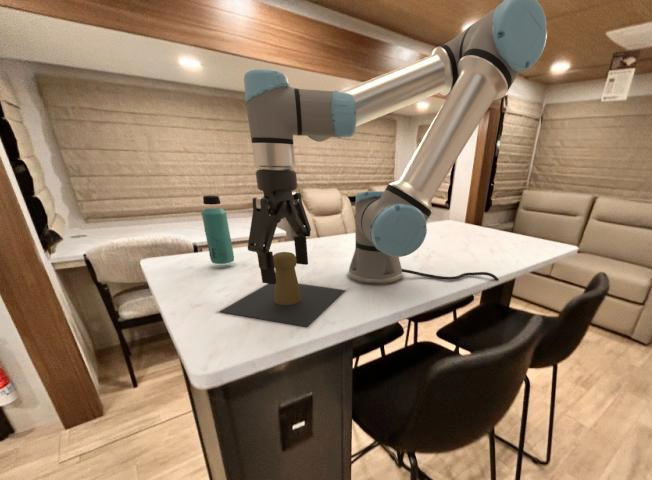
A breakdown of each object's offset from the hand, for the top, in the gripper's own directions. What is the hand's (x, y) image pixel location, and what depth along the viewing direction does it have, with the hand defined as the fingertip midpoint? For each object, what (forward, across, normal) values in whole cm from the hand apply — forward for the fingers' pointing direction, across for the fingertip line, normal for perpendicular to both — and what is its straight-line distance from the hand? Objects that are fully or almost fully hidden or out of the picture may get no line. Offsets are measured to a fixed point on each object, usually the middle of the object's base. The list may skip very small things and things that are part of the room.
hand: (287, 272), depth 68 cm
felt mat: (+7, 0, 0) cm, 7 cm away
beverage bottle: (+7, -16, -31) cm, 36 cm away
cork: (+7, 0, 0) cm, 7 cm away
